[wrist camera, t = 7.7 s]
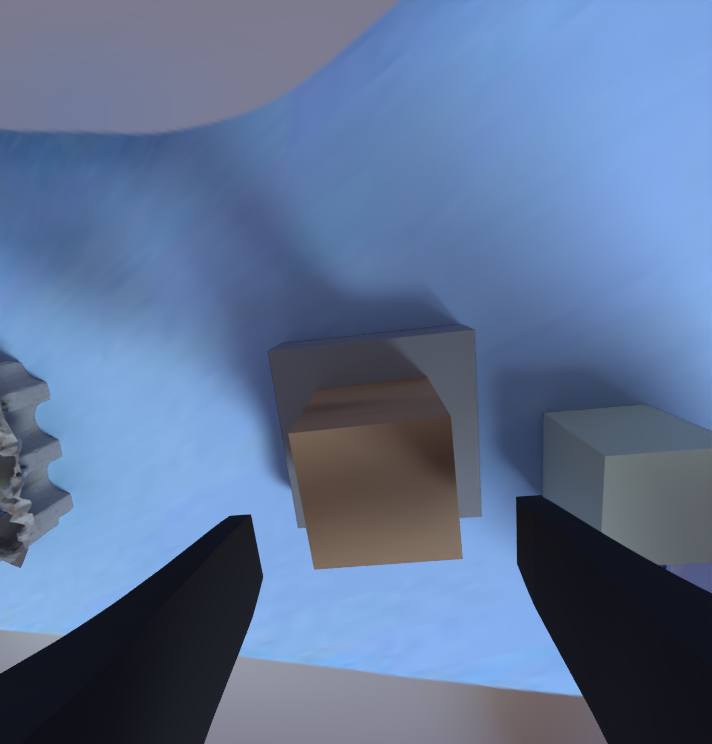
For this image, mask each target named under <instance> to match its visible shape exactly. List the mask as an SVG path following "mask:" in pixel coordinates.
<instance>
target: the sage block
mask: <svg viewBox="0 0 712 744" xmlns="http://www.w3.org/2000/svg"><path fill="white" fill-rule="evenodd" d="M543 497H544V498H546V499H548V500H550V501H551V502H553V503H555V504H556V505H558V506H560V507H561V508H563V509H565V510H566V511H568V512H569V513H571V514H573V515H574V516H576V517H578V518H579V519H581V520H582V521H584V522H586V523H587V524H589V525H590V526H592V527H594V528H595V529H597V530H599V531H600V532H602V533H604V534H605V535H607V536H609V537H610V538H612V539H614V540H615V541H617V542H619V543H620V544H622V545H624V546H625V547H627V548H629V549H631V550H632V551H634V552H636V553H638V554H639V555H641V556H643V557H644V558H646V559H648V560H650V561H652V562H654V563H655V564H657V565H672V564H691V563H711V562H712V431H710V430H707V429H705V428H702V427H700V426H698V425H695V424H693V423H690V422H688V421H685V420H683V419H680V418H678V417H676V416H673V415H671V414H668V413H666V412H663V411H661V410H658V409H656V408H654V407H651V406H649V405H646V404H641V405H628V406H616V407H604V408H592V409H580V410H568V411H556V412H544V413H543Z"/></svg>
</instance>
